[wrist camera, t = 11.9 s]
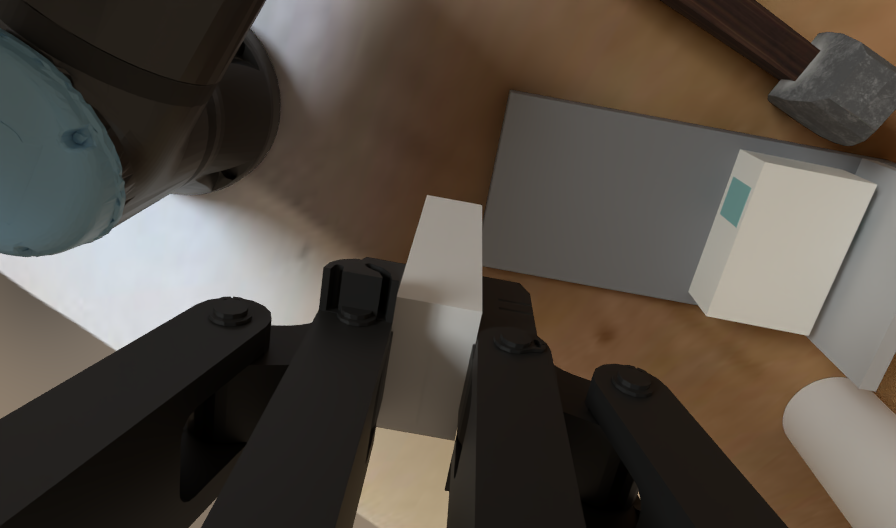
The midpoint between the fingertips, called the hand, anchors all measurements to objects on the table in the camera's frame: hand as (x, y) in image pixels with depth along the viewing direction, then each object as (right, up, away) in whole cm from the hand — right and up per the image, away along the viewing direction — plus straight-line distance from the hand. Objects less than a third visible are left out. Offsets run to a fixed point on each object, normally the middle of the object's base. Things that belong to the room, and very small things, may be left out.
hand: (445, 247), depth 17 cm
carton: (+25, +2, +33) cm, 41 cm away
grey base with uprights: (+18, +4, +35) cm, 39 cm away
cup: (+35, -14, +41) cm, 56 cm away
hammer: (+16, +20, +29) cm, 38 cm away
